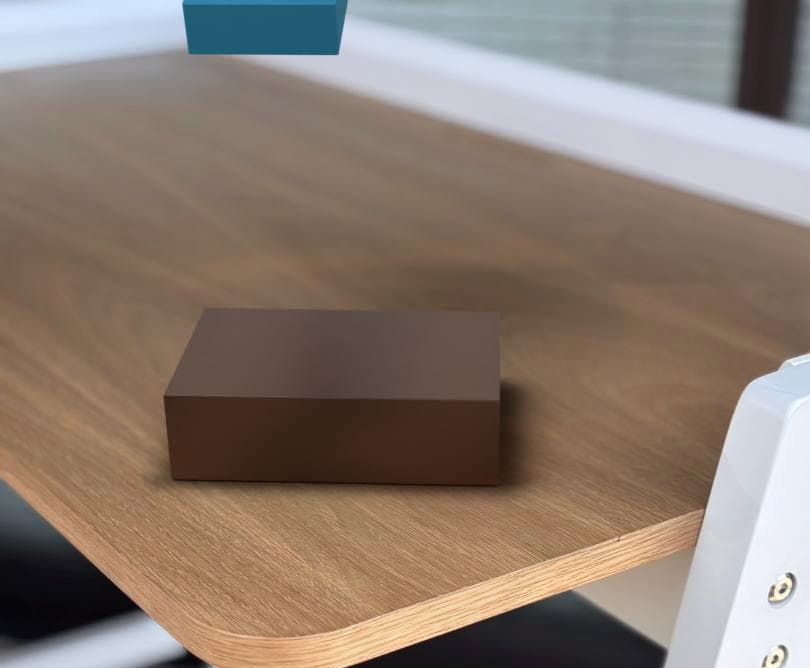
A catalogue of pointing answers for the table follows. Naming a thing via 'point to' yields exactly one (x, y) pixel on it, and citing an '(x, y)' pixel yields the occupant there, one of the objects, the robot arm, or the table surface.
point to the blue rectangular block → (264, 26)
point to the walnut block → (337, 397)
